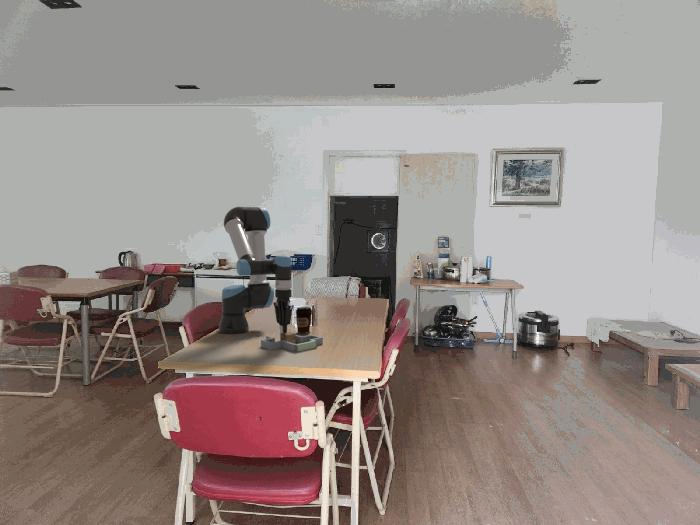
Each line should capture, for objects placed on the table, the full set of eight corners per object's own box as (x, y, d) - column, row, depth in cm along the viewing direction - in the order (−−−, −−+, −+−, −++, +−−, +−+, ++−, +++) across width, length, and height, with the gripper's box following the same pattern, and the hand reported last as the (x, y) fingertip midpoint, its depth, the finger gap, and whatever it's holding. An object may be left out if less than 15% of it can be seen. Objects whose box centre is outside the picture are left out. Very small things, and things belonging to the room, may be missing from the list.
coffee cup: (309, 335, 240) (309, 309, 239) (293, 334, 241) (293, 308, 240) (314, 331, 248) (314, 306, 247) (298, 330, 250) (298, 305, 249)
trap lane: (254, 344, 220) (254, 338, 219) (296, 336, 236) (296, 330, 236) (284, 354, 203) (284, 347, 203) (327, 345, 220) (327, 338, 220)
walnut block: (280, 343, 222) (280, 333, 221) (288, 342, 225) (288, 331, 225) (286, 345, 218) (286, 335, 218) (295, 344, 222) (295, 333, 221)
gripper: (268, 288, 224) (268, 337, 226) (285, 290, 215) (285, 342, 216) (281, 286, 229) (281, 335, 231) (298, 289, 220) (298, 339, 222)
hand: (283, 338), depth 224 cm, fingers closed
